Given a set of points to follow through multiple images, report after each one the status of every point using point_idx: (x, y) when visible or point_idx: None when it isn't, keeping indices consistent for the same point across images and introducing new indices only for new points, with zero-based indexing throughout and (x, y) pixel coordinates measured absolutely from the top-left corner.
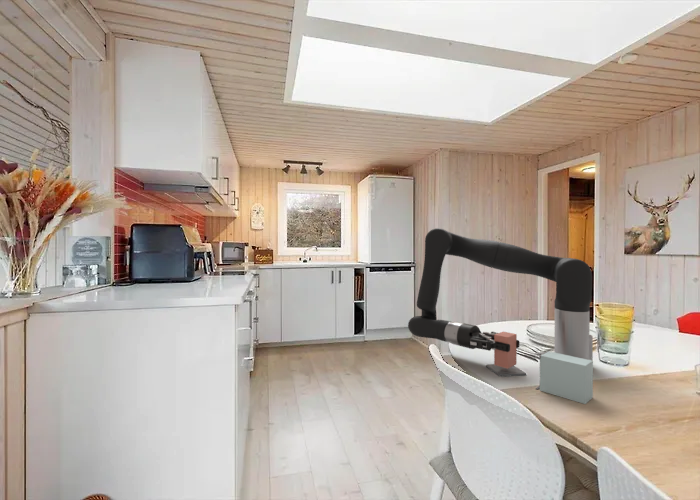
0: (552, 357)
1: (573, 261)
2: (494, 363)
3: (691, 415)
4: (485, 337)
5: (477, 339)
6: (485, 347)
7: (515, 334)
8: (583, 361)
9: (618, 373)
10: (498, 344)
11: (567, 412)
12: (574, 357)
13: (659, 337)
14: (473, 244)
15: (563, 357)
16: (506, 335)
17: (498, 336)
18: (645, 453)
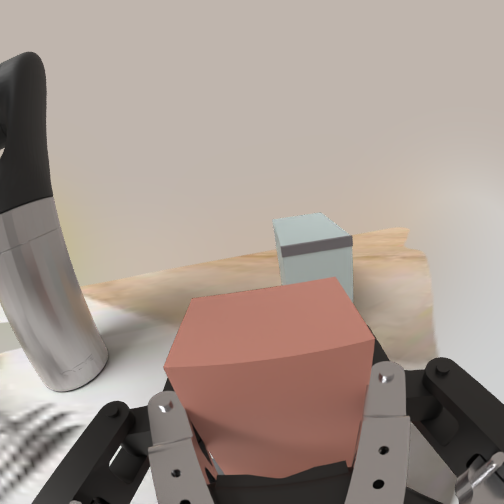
0: (333, 228)
1: (39, 57)
2: None
3: (237, 257)
4: (408, 447)
5: (502, 437)
6: (438, 426)
7: (209, 296)
8: (295, 218)
9: (105, 315)
10: (382, 350)
11: (383, 281)
12: (282, 226)
13: None
14: None
15: (305, 227)
16: (296, 298)
17: (360, 321)
18: (380, 241)
